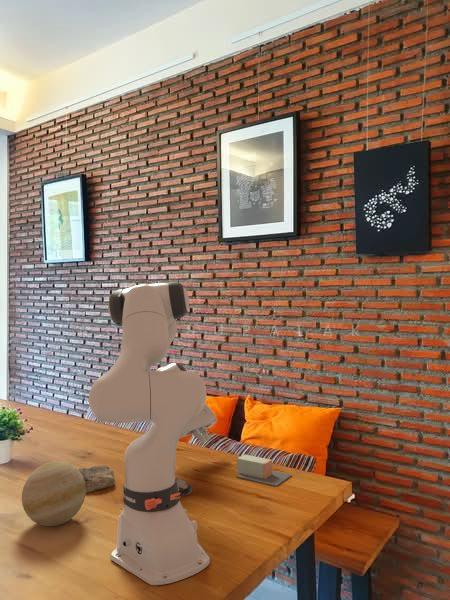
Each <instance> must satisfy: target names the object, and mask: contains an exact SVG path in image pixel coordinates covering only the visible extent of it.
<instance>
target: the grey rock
mask: <svg viewBox="0 0 450 600" xmlns="http://www.w3.org/2000/svg"><path fill="white" fill-rule="evenodd" d="M77 469H78V468H77ZM78 470H79V471H80V473H81V474H82V476H83V478H84V481H85V486H86V494H87V492H88V493H93V492H94V491H98V490H102V489H106V487H107V488H110V487H112V486H114V485H115V483H116V482H115V481H116V479H115V475H114V470H111V469H110V466H107V465H97V466H96V465H95V466H91V467H89V468H86V467H84V468H79V469H78Z"/></svg>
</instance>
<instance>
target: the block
mask: <svg viewBox="0 0 450 600" xmlns="http://www.w3.org/2000/svg"><path fill="white" fill-rule="evenodd" d="M236 462H237V463H236V466H237V467H236V471H237V474H245V475H250V476H255V477H259V478H264V479H266V478H267V477H269V476H270V475H272V471H273V459H269V458H264V457H261V456H255V455H250V454H242V455H241V456H239V457H237V458H236Z"/></svg>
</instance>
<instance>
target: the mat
mask: <svg viewBox="0 0 450 600" xmlns="http://www.w3.org/2000/svg"><path fill="white" fill-rule="evenodd" d="M291 477H293V474H290V473H286V472H285V473H284V472H281V471H275V470H272V475H270V476H269V477H267V478H266V479H264V478H259V477H255V476H250V475H245V474H241V473H238V475H236V478H238V479H242V480H246V481H250V482H255V483H258V484H263V485H267V486H272V487H278V486H280V485H281V484H282V483H284V482H285V481H287V480H288V479H290V478H291Z"/></svg>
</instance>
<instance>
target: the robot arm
mask: <svg viewBox="0 0 450 600" xmlns="http://www.w3.org/2000/svg"><path fill="white" fill-rule="evenodd" d="M189 305H190V298H189V293H188V292H187V290H186V288H185V287H184V284H182V283H180V282H178V281H169V282H161V283H160V282H159V283H149V284H148V283H147V284H145V283H143V284H138V285H134V286H131V287H127V288H121V289H120V288H119V289H116V290H114V291H113V292H112V293H111V294H110V296H109V298H108V306H107V307H108V308H107V309H108V313H109V316H110V318H111V320H112V322H113V323H114V324H115V325H117V326H118V327H122V329H121V330H122V331H121V333H122V335H121V339H122V340H121V350H120V354H119V355H118V358H117V360H116V361H115V363H114V364H113V365H112V366H111V368H109V370H108V371H106V372H104V374H102V375H101V376H100V375H99V377H98V378H97V379H95V381H94V382H93V384H92V386H91V388H90V390H89V393H88V404H89V405H88V406H89V409H90V411H91V413H92V415H94V418H96V420H98V421H99V422H106V423H115V424H129V423H130V424H131V423H145V422H150V423H152V425H151V427H150V429H149V430H148V431H147V432H145V433H143V434H142V435H141V436H139V437H137V438H136V439H133V440H132V441H131V442H130V443H129V444H128V446H127V448H126V449H125V451H124V483H123V487H122V488H123V490H122V498H123V500H122V502H123V503H124V505H123V508H122V510H121V512H120V514H119V515H118V518H117V527H116V529H117V530H116V544H115V545H116V547H115V549H114V550H112V552H111V553H110V560H111V561H113V562H114V563H116V564H117V565H119V566H120V567H122V568H123V569H125V570H126V571H128V572H130V573H131V574H133V575H134V576H136V577H138V578H139V579H141V580H142V581H144V582H145V583H146V584H148V585H150V586H162V585H167V584H168V585H169V584H173V583H175V582H179V581H181V580H184V579H186V578H189V577H192V576H194V575H196V574H197V573H200V572H201V571H203V570H205V568H207V567H208V566H209V565H210V564H211V559H210V557H209V554H207V552H206V551H205V550H204V548H203V547H202V546H201V545H200V543H199V542H198V535H197V531H198V528H199V527H198V524H197V520H195V519H194V520H193V519H192V520H190V519H191V518H190V517H189V516H188V510H187V509H186V508H184V507H183V505H182V503H181V497H182V496H181V497H180V495H179V494H181V493H179V491H180V489H179V488H180V487H178V485H177V481H176V457H177V449H178V444H179V441H180V439H182V438H184V437H185V438H186V437H187V436H190V435H193V437H195V438H196V439H198V440H199V441H200V443H201V444H204V443H206V442H209V440H211V438H210V436H209V434H208V428H211V427H213V426H214V425H215V424H216V423H217V421H218V419H217V416H216V414H215V413H214V411H213V410H212V409H211V408H210V407H209V405H208V404H206V401H207V388H206V384H205V381H204V380H203V379H202V377H201V376H200V375H199V374H198V373H197V372H192V371H187V369H186V368H185V367H184V366H183V364H181V363H178V362H171V363H169V364H167V365H165V366H161V367H158V368H157V369H156V370H152V367H153V366H155V365H157V364H158V363H160V362H162V360H163V359H164V358H165V357H166V356H167V354H168V352H169V349H170V345H171V344H172V342H173V341H174V340H175V338H176V335H177V331H178V329H177V328H178V325H177V324H178V323H177V320H179V319H181V318H183V317H186V315H187V314H188V309H189Z"/></svg>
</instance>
